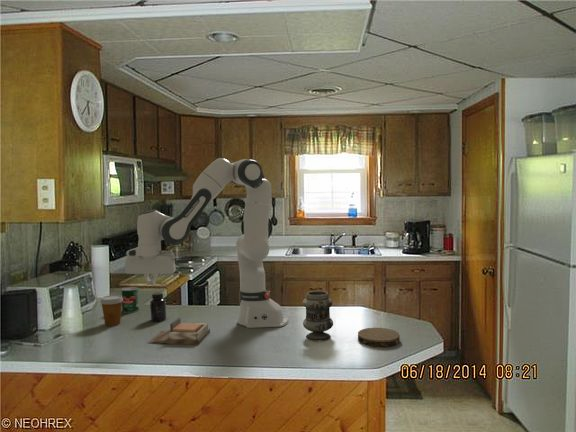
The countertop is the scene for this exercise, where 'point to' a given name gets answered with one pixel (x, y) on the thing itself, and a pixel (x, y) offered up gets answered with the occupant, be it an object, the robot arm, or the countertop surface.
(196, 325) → the trolley
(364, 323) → the countertop surface
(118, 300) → the disposable coffee cup
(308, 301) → the apothecary jar
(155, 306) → the supplement bottle
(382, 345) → the brown round disc
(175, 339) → the loading dock
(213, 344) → the countertop surface
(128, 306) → the canned tomato
